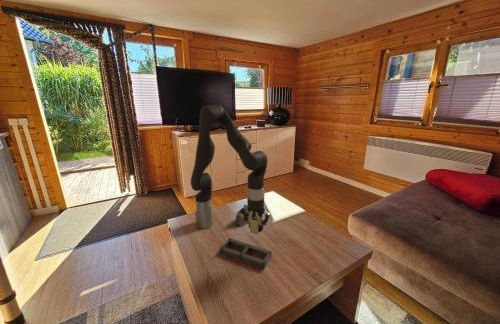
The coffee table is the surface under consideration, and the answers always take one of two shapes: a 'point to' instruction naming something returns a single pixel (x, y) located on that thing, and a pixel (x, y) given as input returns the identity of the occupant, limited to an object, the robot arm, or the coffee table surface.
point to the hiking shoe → (241, 218)
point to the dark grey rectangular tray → (246, 253)
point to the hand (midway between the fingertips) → (256, 229)
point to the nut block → (254, 225)
